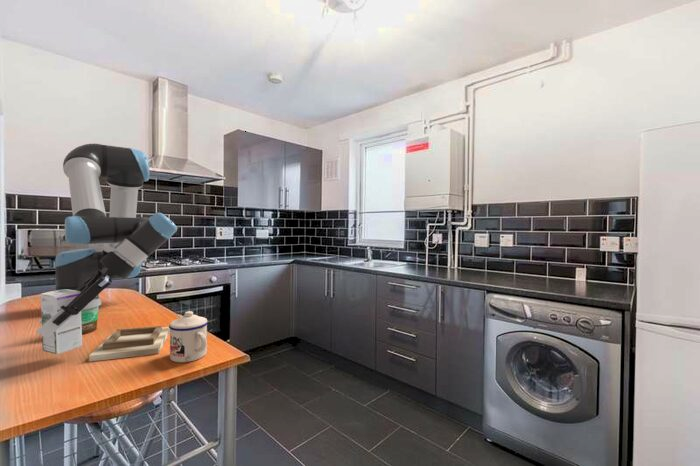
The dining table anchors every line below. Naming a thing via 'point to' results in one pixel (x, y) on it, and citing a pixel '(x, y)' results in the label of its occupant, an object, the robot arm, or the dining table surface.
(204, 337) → the teacup with lid
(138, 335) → the beige square tray
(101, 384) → the dining table surface
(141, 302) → the dining table surface
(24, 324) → the dining table surface
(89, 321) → the food container
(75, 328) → the syrup box
